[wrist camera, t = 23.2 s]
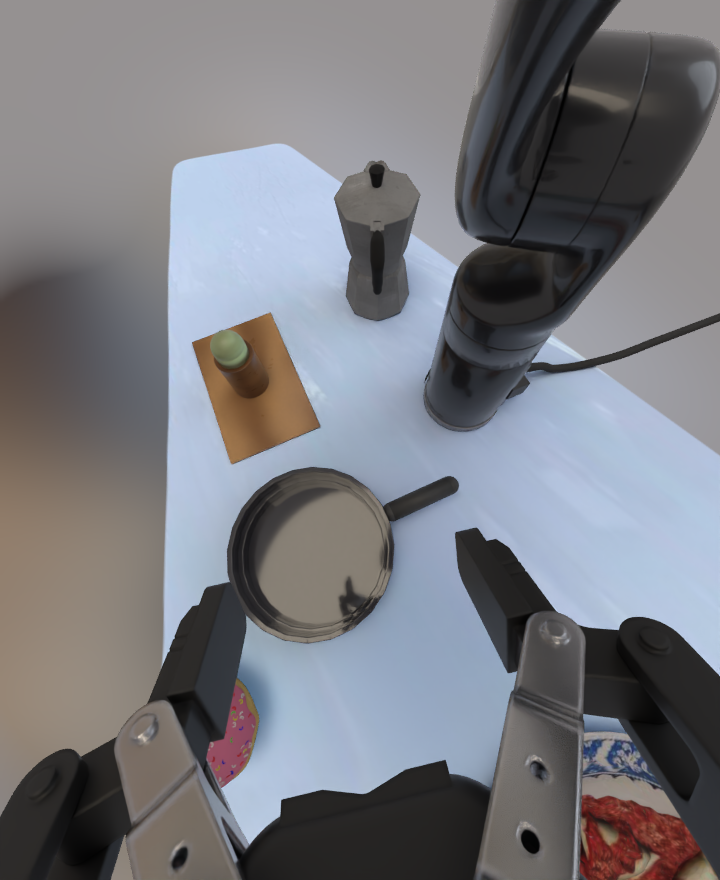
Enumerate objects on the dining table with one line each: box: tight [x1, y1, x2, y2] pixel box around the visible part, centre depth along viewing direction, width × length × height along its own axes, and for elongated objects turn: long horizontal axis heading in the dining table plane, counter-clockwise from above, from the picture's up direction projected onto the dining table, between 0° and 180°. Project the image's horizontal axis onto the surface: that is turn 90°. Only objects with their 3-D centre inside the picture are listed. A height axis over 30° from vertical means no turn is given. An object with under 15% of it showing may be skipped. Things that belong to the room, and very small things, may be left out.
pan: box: [227, 467, 394, 643], centre depth 38 cm, size 17×17×4 cm
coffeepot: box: [334, 161, 420, 320], centre depth 44 cm, size 15×9×18 cm, turn 179°
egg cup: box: [210, 330, 269, 398], centre depth 44 cm, size 5×5×10 cm
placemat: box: [192, 313, 320, 464], centre depth 49 cm, size 12×20×1 cm, turn 24°
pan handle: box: [383, 476, 459, 522], centre depth 39 cm, size 9×2×2 cm, turn 114°
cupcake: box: [206, 678, 259, 788], centre depth 30 cm, size 9×8×12 cm
